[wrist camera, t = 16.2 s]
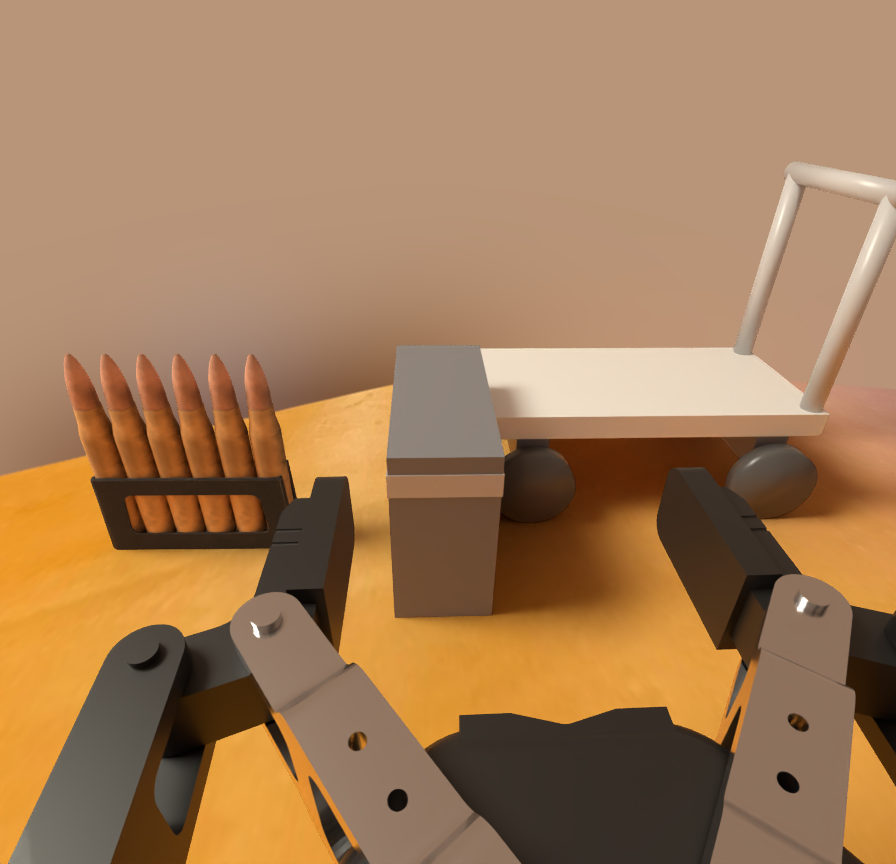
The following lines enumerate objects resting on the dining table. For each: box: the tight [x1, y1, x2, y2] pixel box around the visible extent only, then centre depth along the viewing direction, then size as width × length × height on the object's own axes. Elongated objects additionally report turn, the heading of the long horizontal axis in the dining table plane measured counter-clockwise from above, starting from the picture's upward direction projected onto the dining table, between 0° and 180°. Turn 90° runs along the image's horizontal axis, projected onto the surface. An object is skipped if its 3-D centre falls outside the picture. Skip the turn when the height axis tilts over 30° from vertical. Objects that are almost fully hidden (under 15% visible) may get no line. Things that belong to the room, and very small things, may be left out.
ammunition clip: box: [64, 354, 297, 550], centre depth 30 cm, size 11×2×12 cm, turn 92°
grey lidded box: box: [386, 345, 505, 618], centre depth 31 cm, size 5×12×10 cm, turn 2°
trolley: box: [481, 161, 896, 523], centre depth 35 cm, size 20×12×20 cm, turn 92°
